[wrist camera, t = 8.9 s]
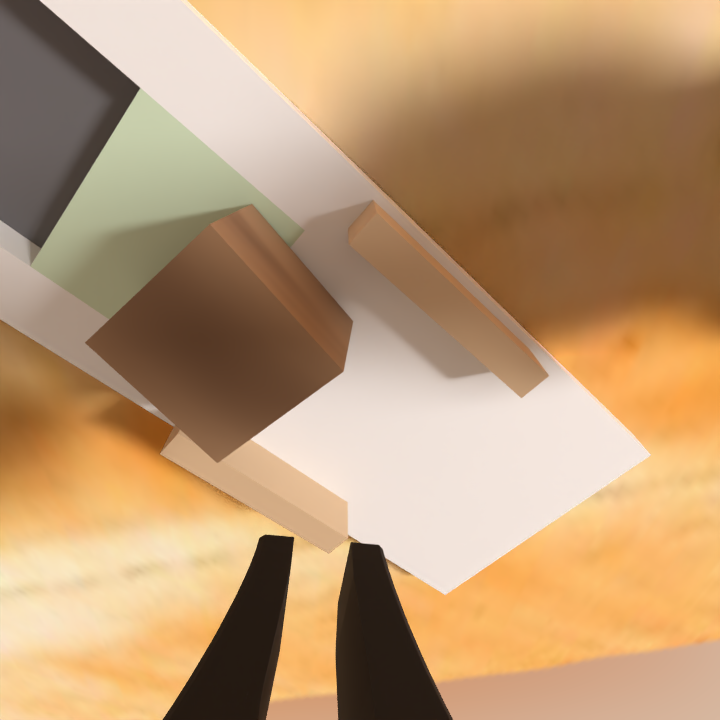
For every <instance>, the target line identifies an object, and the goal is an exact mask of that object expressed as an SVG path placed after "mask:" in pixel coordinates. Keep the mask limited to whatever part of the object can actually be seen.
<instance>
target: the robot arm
mask: <svg viewBox="0 0 720 720" xmlns="http://www.w3.org/2000/svg"><path fill="white" fill-rule="evenodd" d="M293 542H294V537H286V536H275V535H264V536H262V537H260V538H259V541H258V545H257V548H256V551H255V554H254V556H253V559H252V562H251V564H250V567H249V569H248V571H247V573H246V576H245V578H244V580H243V582H242V584H241V586H240V589H239V591H238V593H237V595H236V597H235V599H234V601H233V603H232V605H231V606H230V608H229V610H228V612H227V614H226V616H225V618H224V620H223V622H222V623H221V625H220V627H219V629H218V631H217V633H216V635H215V636H214V638H213V640H212V642H211V643H210V645H209V647H208V648H207V650H206V652H205V653H204V655H203V657H202V658H201V660H200V662H199V663H198V665H197V667H196V668H195V670H194V672H193V673H192V675H191V677H190V678H189V680H188V682H187V683H186V685H185V686H184V688H183V689H182V691H181V693H180V694H179V696H178V697H177V699H176V700H175V702H174V703H173V705H172V707H171V708H170V710H169V711H168V713H167V714H166V716H165V717H164V719H163V720H266V716H267V711H268V706H269V701H270V696H271V691H272V686H273V681H274V676H275V671H276V667H277V662H278V657H279V652H280V644H281V637H282V629H283V622H284V614H285V607H286V599H287V592H288V584H289V576H290V569H291V560H292V551H293ZM336 677H337V700H338V720H453V719H452V717H451V715H450V713H449V711H448V709H447V707H446V705H445V703H444V701H443V699H442V697H441V695H440V693H439V691H438V689H437V687H436V685H435V683H434V680H433V678H432V676H431V674H430V672H429V670H428V668H427V666H426V663H425V661H424V659H423V657H422V655H421V652H420V650H419V647H418V645H417V643H416V640H415V638H414V636H413V633H412V631H411V629H410V626H409V624H408V622H407V619H406V616H405V614H404V611H403V609H402V606H401V604H400V601H399V598H398V595H397V593H396V590H395V587H394V584H393V581H392V578H391V575H390V572H389V569H388V566H387V562H386V559H385V555H384V552H383V549H382V548H381V547H380V545H376V544H365V543H353V542H351V544H350V549H349V554H348V558H347V563H346V568H345V572H344V577H343V582H342V587H341V591H340V596H339V601H338V613H337V633H336Z"/></svg>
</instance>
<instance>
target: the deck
mask: <svg viewBox="0 0 720 720" xmlns="http://www.w3.org/2000/svg"><path fill="white" fill-rule="evenodd" d="M251 204H253V205H254V207H255V208H256V209H257V210H258V211H259V212H260V214H261V215H262V216H263V217H264V218H265V219H266V220H267V222H268V223H269V224H270V225H271V226H272V227H273V229H274V230H275V231H276V232H277V233H278V234H279V236H280V237H281V238H282V239H283V240H284V241H285V243H286V244H287V245H288V246H289V247H290V248H291V249H292V251H293V252H294V253H295V254H296V255H297V256H298V258H299V259H300V260H301V261H302V262H303V263H304V265H305V266H306V267H307V268H308V269H309V270H310V272H311V273H312V274H313V275H314V276H315V277H316V279H317V280H318V281H319V282H320V283H321V284H322V285H323V287H324V288H325V289H326V290H327V291H328V292H329V294H330V295H331V296H332V297H333V298H334V299H335V301H336V302H337V303H338V304H339V305H340V306H341V308H342V309H343V310H344V311H345V312H346V313H347V314H348V316H349V317H350V318H351V319H352V320H353V325H352V330H351V335H350V341H349V346H348V351H347V356H346V362H345V367H344V372H342V373H341V374H340V375H338V376H337V377H336V378H334V379H333V380H331V381H330V382H329V383H327V384H326V385H324V386H323V387H322V388H320V389H319V390H318V391H316V392H315V393H313V394H312V395H311V396H309V397H308V398H307V399H305V400H304V401H302V402H301V403H300V404H298V405H297V406H296V407H294V408H293V409H291V410H290V411H289V412H287V413H286V414H285V415H283V416H282V417H280V418H279V419H278V420H276V421H275V422H274V423H272V424H271V425H269V426H268V427H267V428H265V429H264V430H263V431H261V432H260V433H258V434H257V435H256V436H254V437H253V438H252V439H250V440H249V441H247V442H246V443H245V444H243V445H242V446H241V447H239V448H238V449H236V450H235V451H234V452H232V453H231V454H229V455H228V456H227V457H225V458H224V459H223V460H221V461H220V462H218V463H216V462H215V461H214V460H213V459H212V458H211V457H210V456H209V455H208V454H206V453H205V452H204V451H203V450H202V449H201V448H200V447H199V446H198V445H197V444H195V443H194V442H193V441H192V440H191V439H190V438H189V437H188V436H187V435H186V434H184V433H183V432H182V431H181V430H180V429H179V428H178V427H177V426H176V425H175V424H173V423H172V422H171V421H170V420H169V419H168V418H167V417H166V416H165V415H164V414H163V413H161V412H160V411H159V410H158V409H157V408H156V407H155V406H154V405H153V404H152V403H150V402H149V401H148V400H147V399H146V398H145V397H144V396H143V395H142V394H141V393H139V392H138V391H137V390H136V389H135V388H134V387H133V386H132V385H131V384H130V383H128V382H127V381H126V380H125V379H124V378H123V377H122V376H121V375H120V374H119V373H117V372H116V371H115V370H114V369H113V368H112V367H111V366H110V365H109V364H108V363H106V362H105V361H104V360H103V359H102V358H101V357H100V356H99V355H98V354H97V353H95V352H94V351H93V350H92V349H91V348H90V347H89V346H88V345H87V344H86V343H85V342H86V341H87V340H88V339H89V338H90V337H91V336H92V335H93V334H95V333H96V332H97V331H98V330H99V329H100V328H101V327H102V326H103V325H104V324H105V323H106V322H107V321H108V320H109V319H110V318H111V317H112V316H113V315H115V314H116V313H117V312H118V311H119V310H120V309H121V308H122V307H123V306H124V305H125V304H126V303H127V302H128V301H129V300H130V299H131V298H132V297H133V296H135V295H136V294H137V293H138V292H139V291H140V290H141V289H142V288H143V287H144V286H145V285H146V284H147V283H148V282H149V281H150V280H151V279H152V278H153V277H154V276H156V275H157V274H158V273H159V272H160V271H161V270H162V269H163V268H164V267H165V266H166V265H167V264H168V263H169V262H170V261H171V260H172V259H173V258H174V257H176V256H177V255H178V254H179V253H180V252H181V251H182V250H183V249H184V248H185V247H186V246H187V245H188V244H189V243H190V242H191V241H192V240H193V239H194V238H196V237H197V236H198V235H199V234H200V233H201V232H202V231H203V230H204V229H205V228H206V227H207V226H208V225H209V224H211V223H213V222H215V221H217V220H219V219H221V218H223V217H225V216H228V215H230V214H232V213H234V212H236V211H238V210H240V209H242V208H244V207H247V206H249V205H251ZM0 320H2V321H3V322H5V323H7V324H8V325H10V326H12V327H13V328H15V329H16V330H18V331H20V332H21V333H23V334H24V335H26V336H28V337H29V338H31V339H33V340H34V341H36V342H37V343H39V344H41V345H42V346H44V347H45V348H47V349H49V350H50V351H52V352H54V353H55V354H57V355H58V356H60V357H62V358H63V359H65V360H66V361H68V362H70V363H71V364H73V365H75V366H76V367H78V368H79V369H81V370H83V371H84V372H86V373H87V374H89V375H91V376H92V377H94V378H96V379H97V380H99V381H100V382H102V383H104V384H105V385H107V386H108V387H110V388H112V389H113V390H115V391H117V392H118V393H120V394H121V395H123V396H125V397H126V398H128V399H129V400H131V401H133V402H134V403H136V404H138V405H139V406H141V407H142V408H144V409H146V410H147V411H149V412H151V413H152V414H154V415H155V416H157V417H159V418H160V419H162V420H163V421H165V422H167V423H168V424H170V425H172V426H173V427H174V428H173V429H172V431H171V433H170V435H169V437H168V439H167V441H166V443H165V445H164V447H163V449H162V451H161V452H160V455H162V456H164V457H166V458H167V459H169V460H171V461H172V462H174V463H176V464H177V465H179V466H181V467H183V468H184V469H186V470H188V471H189V472H191V473H193V474H194V475H196V476H198V477H199V478H201V479H203V480H205V481H206V482H208V483H210V484H211V485H213V486H215V487H216V488H218V489H220V490H221V491H223V492H225V493H227V494H228V495H230V496H232V497H233V498H235V499H237V500H238V501H240V502H242V503H244V504H245V505H247V506H249V507H250V508H252V509H254V510H255V511H257V512H259V513H260V514H262V515H264V516H266V517H267V518H269V519H271V520H272V521H274V522H276V523H277V524H279V525H281V526H282V527H284V528H286V529H288V530H289V531H291V532H293V533H294V534H296V535H298V536H299V537H301V538H303V539H305V540H306V541H308V542H310V543H311V544H313V545H315V546H316V547H318V548H320V549H321V550H323V551H325V552H327V553H328V554H329V553H330V552H332V551H333V550H334V549H335V548H337V547H338V546H339V545H340V544H341V543H343V542H344V541H345V540H346V539H348V535H349V536H351V537H353V538H354V539H356V540H357V541H359V542H361V543H365V544H376V545H380V547H381V548H382V549H383V552H384V555H385V558H386V559H388V560H390V561H391V562H393V563H395V564H396V565H398V566H399V567H401V568H403V569H404V570H406V571H407V572H409V573H411V574H412V575H414V576H416V577H417V578H419V579H420V580H422V581H424V582H425V583H427V584H428V585H430V586H432V587H433V588H435V589H437V590H438V591H440V592H441V593H443V594H445V595H446V594H447V593H449V592H450V591H452V590H453V589H455V588H456V587H458V586H459V585H460V584H462V583H463V582H465V581H466V580H468V579H469V578H471V577H472V576H474V575H475V574H477V573H478V572H480V571H481V570H483V569H484V568H485V567H487V566H488V565H490V564H491V563H493V562H494V561H496V560H497V559H499V558H500V557H502V556H503V555H505V554H506V553H508V552H509V551H511V550H512V549H513V548H515V547H516V546H518V545H519V544H521V543H522V542H524V541H525V540H527V539H528V538H530V537H531V536H533V535H534V534H536V533H537V532H538V531H540V530H541V529H543V528H544V527H546V526H547V525H549V524H550V523H552V522H553V521H555V520H556V519H558V518H559V517H561V516H562V515H563V514H565V513H566V512H568V511H569V510H571V509H572V508H574V507H575V506H577V505H578V504H580V503H581V502H583V501H584V500H586V499H587V498H588V497H590V496H591V495H593V494H594V493H596V492H597V491H599V490H600V489H602V488H603V487H605V486H606V485H608V484H609V483H611V482H612V481H613V480H615V479H616V478H618V477H619V476H621V475H622V474H624V473H625V472H627V471H628V470H630V469H631V468H633V467H634V466H636V465H637V464H639V463H640V462H641V461H643V460H644V459H646V458H647V457H649V456H650V453H649V452H648V451H647V450H646V449H645V448H644V446H643V445H642V444H641V443H640V442H639V441H638V439H637V438H636V437H635V436H634V435H633V434H632V433H631V432H630V431H629V430H628V429H627V428H626V427H625V426H624V425H623V424H622V423H621V422H620V421H619V420H618V419H617V418H616V417H615V416H614V415H613V414H612V413H611V412H610V411H609V410H608V409H607V408H606V407H605V406H604V405H602V404H601V403H600V402H599V401H598V400H597V399H596V398H595V397H594V396H593V395H592V394H591V393H590V392H589V391H588V390H587V389H586V388H585V387H584V386H583V385H582V384H581V383H580V382H579V381H578V380H577V379H576V378H575V377H574V376H573V375H572V374H571V373H570V372H569V371H568V370H566V369H565V368H564V367H563V366H562V365H561V364H560V363H559V362H558V361H557V360H556V359H555V358H554V357H553V356H552V355H551V354H550V353H549V352H548V351H547V350H546V349H545V348H544V347H543V346H542V345H541V344H540V343H539V342H538V341H537V340H536V339H535V338H534V337H533V336H531V335H530V334H529V333H528V332H527V331H526V330H525V329H524V328H523V327H522V326H521V325H520V324H519V323H518V322H517V321H516V320H515V319H514V318H513V317H512V316H511V315H510V314H509V313H508V312H507V311H506V310H505V309H504V308H503V307H502V306H501V305H500V304H499V303H498V302H497V301H495V300H494V299H493V298H492V297H491V296H490V295H489V294H488V293H487V292H486V291H485V290H484V289H483V288H482V287H481V286H480V285H479V284H478V283H477V282H476V281H475V280H474V279H473V278H472V277H471V276H470V275H469V274H468V273H467V272H466V271H465V270H464V269H463V268H462V267H461V266H459V265H458V264H457V263H456V262H455V261H454V260H453V259H452V258H451V257H450V256H449V255H448V254H447V253H446V252H445V251H444V250H443V249H442V248H441V247H440V246H439V245H438V244H437V243H436V242H435V241H434V240H433V239H432V238H431V237H430V236H429V235H428V234H427V233H426V232H425V231H423V230H422V229H421V228H420V227H419V226H418V225H417V224H416V223H415V222H414V221H413V220H412V219H411V218H410V217H409V216H408V215H407V214H406V213H405V212H404V211H403V210H402V209H401V208H400V207H399V206H398V205H397V204H396V203H395V202H394V201H393V200H392V199H391V198H390V197H389V196H387V195H386V194H385V193H384V192H383V191H382V190H381V189H380V188H379V187H378V186H377V185H376V184H375V183H374V182H373V181H372V180H371V179H370V178H369V177H368V176H367V175H366V174H365V173H364V172H363V171H362V170H361V169H360V168H359V167H358V166H357V165H356V164H355V163H354V162H353V161H351V160H350V159H349V158H348V157H347V156H346V155H345V154H344V153H343V152H342V151H341V150H340V149H339V148H338V147H337V146H336V145H335V144H334V143H333V142H332V141H331V140H330V139H329V138H328V137H327V136H326V135H325V134H324V133H323V132H322V131H321V130H320V129H319V128H318V127H317V126H315V125H314V124H313V123H312V122H311V121H310V120H309V119H308V118H307V117H306V116H305V115H304V114H303V113H302V112H301V111H300V110H299V109H298V108H297V107H296V106H295V105H294V104H293V103H292V102H291V101H290V100H289V99H288V98H287V97H286V96H285V95H284V94H283V93H282V92H281V91H279V90H278V89H277V88H276V87H275V86H274V85H273V84H272V83H271V82H270V81H269V80H268V79H267V78H266V77H265V76H264V75H263V74H262V73H261V72H260V71H259V70H258V69H257V68H256V67H255V66H254V65H253V64H252V63H251V62H250V61H249V60H248V59H247V58H246V57H244V56H243V55H242V54H241V53H240V52H239V51H238V50H237V49H236V48H235V47H234V46H233V45H232V44H231V43H230V42H229V41H228V40H227V39H226V38H225V37H224V36H223V35H222V34H221V33H220V32H219V31H218V30H217V29H216V28H215V27H214V26H213V25H212V24H211V23H210V22H208V21H207V20H206V19H205V18H204V17H203V16H202V15H201V14H200V13H199V12H198V11H197V10H196V9H195V8H194V7H193V6H192V5H191V4H190V3H189V2H188V1H187V0H0Z"/></svg>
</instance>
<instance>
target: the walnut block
mask: <svg viewBox="0 0 720 720" xmlns="http://www.w3.org/2000/svg"><path fill="white" fill-rule="evenodd" d="M352 325H353V320H352V319H351V318H350V317H349V316H348V314H347V313H346V312H345V311H344V310H343V309H342V308H341V306H340V305H339V304H338V303H337V302H336V301H335V299H334V298H333V297H332V296H331V295H330V294H329V292H328V291H327V290H326V289H325V288H324V287H323V285H322V284H321V283H320V282H319V281H318V280H317V279H316V277H315V276H314V275H313V274H312V273H311V272H310V270H309V269H308V268H307V267H306V266H305V265H304V263H303V262H302V261H301V260H300V259H299V258H298V256H297V255H296V254H295V253H294V252H293V251H292V249H291V248H290V247H289V246H288V245H287V244H286V243H285V241H284V240H283V239H282V238H281V237H280V236H279V234H278V233H277V232H276V231H275V230H274V229H273V227H272V226H271V225H270V224H269V223H268V222H267V220H266V219H265V218H264V217H263V216H262V215H261V214H260V212H259V211H258V210H257V209H256V208H255V207H254V205H253V204H251V205H249V206H247V207H244V208H242V209H240V210H238V211H236V212H234V213H232V214H230V215H228V216H225V217H223V218H221V219H219V220H217V221H215V222H213V223H211V224H209V225H208V226H207V227H206V228H205V229H204V230H203V231H202V232H201V233H200V234H199V235H198V236H197V237H196V238H194V239H193V240H192V241H191V242H190V243H189V244H188V245H187V246H186V247H185V248H184V249H183V250H182V251H181V252H180V253H179V254H178V255H177V256H176V257H174V258H173V259H172V260H171V261H170V262H169V263H168V264H167V265H166V266H165V267H164V268H163V269H162V270H161V271H160V272H159V273H158V274H157V275H156V276H154V277H153V278H152V279H151V280H150V281H149V282H148V283H147V284H146V285H145V286H144V287H143V288H142V289H141V290H140V291H139V292H138V293H137V294H136V295H135V296H133V297H132V298H131V299H130V300H129V301H128V302H127V303H126V304H125V305H124V306H123V307H122V308H121V309H120V310H119V311H118V312H117V313H116V314H115V315H113V316H112V317H111V318H110V319H109V320H108V321H107V322H106V323H105V324H104V325H103V326H102V327H101V328H100V329H99V330H98V331H97V332H96V333H95V334H93V335H92V336H91V337H90V338H89V339H88V340H87V341H86V342H85V343H86V344H87V345H88V346H89V347H90V348H91V349H92V350H93V351H94V352H95V353H97V354H98V355H99V356H100V357H101V358H102V359H103V360H104V361H105V362H106V363H108V364H109V365H110V366H111V367H112V368H113V369H114V370H115V371H116V372H117V373H119V374H120V375H121V376H122V377H123V378H124V379H125V380H126V381H127V382H128V383H130V384H131V385H132V386H133V387H134V388H135V389H136V390H137V391H138V392H139V393H141V394H142V395H143V396H144V397H145V398H146V399H147V400H148V401H149V402H150V403H152V404H153V405H154V406H155V407H156V408H157V409H158V410H159V411H160V412H161V413H163V414H164V415H165V416H166V417H167V418H168V419H169V420H170V421H171V422H172V423H173V424H175V425H176V426H177V427H178V428H179V429H180V430H181V431H182V432H183V433H184V434H186V435H187V436H188V437H189V438H190V439H191V440H192V441H193V442H194V443H195V444H197V445H198V446H199V447H200V448H201V449H202V450H203V451H204V452H205V453H206V454H208V455H209V456H210V457H211V458H212V459H213V460H214V461H215V462H216V463H218V462H220V461H221V460H223V459H224V458H225V457H227V456H228V455H229V454H231V453H232V452H234V451H235V450H236V449H238V448H239V447H241V446H242V445H243V444H245V443H246V442H247V441H249V440H250V439H252V438H253V437H254V436H256V435H257V434H258V433H260V432H261V431H263V430H264V429H265V428H267V427H268V426H269V425H271V424H272V423H274V422H275V421H276V420H278V419H279V418H280V417H282V416H283V415H285V414H286V413H287V412H289V411H290V410H291V409H293V408H294V407H296V406H297V405H298V404H300V403H301V402H302V401H304V400H305V399H307V398H308V397H309V396H311V395H312V394H313V393H315V392H316V391H318V390H319V389H320V388H322V387H323V386H324V385H326V384H327V383H329V382H330V381H331V380H333V379H334V378H336V377H337V376H338V375H340V374H341V373H342V372H344V367H345V362H346V356H347V351H348V346H349V341H350V335H351V330H352Z"/></svg>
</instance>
